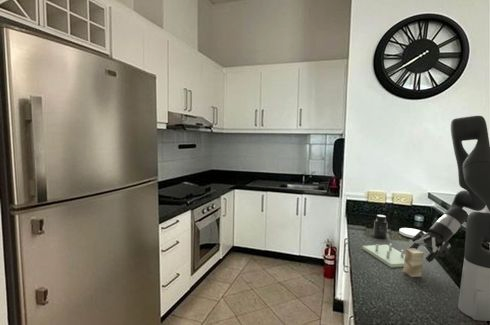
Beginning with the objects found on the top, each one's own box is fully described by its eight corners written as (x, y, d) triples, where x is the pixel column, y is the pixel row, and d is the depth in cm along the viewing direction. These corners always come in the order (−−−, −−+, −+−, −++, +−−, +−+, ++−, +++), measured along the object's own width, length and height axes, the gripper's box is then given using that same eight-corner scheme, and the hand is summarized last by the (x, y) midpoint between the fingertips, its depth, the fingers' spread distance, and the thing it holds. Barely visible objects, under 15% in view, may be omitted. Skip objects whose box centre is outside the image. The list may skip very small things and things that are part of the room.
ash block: (421, 276, 117) (423, 252, 116) (411, 277, 116) (414, 253, 115) (412, 271, 121) (414, 248, 120) (403, 271, 120) (405, 248, 119)
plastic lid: (412, 241, 157) (413, 237, 157) (393, 232, 171) (393, 228, 170) (433, 240, 161) (433, 235, 161) (412, 231, 174) (412, 227, 174)
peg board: (418, 265, 127) (419, 255, 126) (391, 267, 124) (392, 257, 123) (386, 247, 146) (387, 238, 146) (362, 248, 143) (363, 240, 143)
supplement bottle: (388, 236, 162) (390, 216, 161) (384, 239, 157) (386, 218, 156) (375, 233, 167) (377, 213, 166) (371, 236, 162) (373, 215, 161)
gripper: (425, 216, 126) (401, 243, 125) (456, 227, 112) (428, 257, 111) (434, 228, 128) (410, 254, 126) (465, 240, 114) (438, 269, 113)
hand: (418, 255), depth 119 cm, fingers open, 8 cm apart
